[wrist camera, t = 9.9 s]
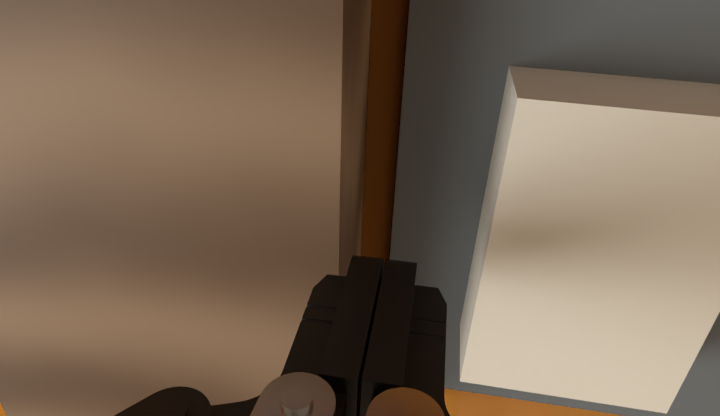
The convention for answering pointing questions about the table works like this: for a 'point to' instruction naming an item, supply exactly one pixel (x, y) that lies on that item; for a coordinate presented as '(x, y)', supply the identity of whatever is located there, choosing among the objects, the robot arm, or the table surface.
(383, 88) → the table surface
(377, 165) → the table surface
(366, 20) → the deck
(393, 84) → the table surface
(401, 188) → the mat
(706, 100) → the cream rectangular block
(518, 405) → the table surface
